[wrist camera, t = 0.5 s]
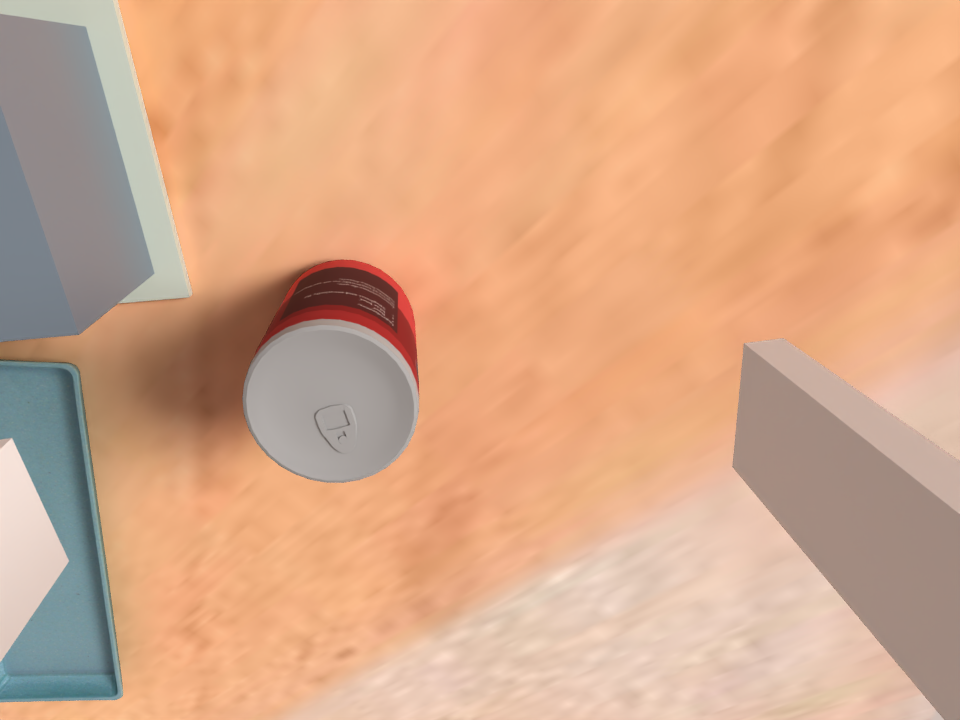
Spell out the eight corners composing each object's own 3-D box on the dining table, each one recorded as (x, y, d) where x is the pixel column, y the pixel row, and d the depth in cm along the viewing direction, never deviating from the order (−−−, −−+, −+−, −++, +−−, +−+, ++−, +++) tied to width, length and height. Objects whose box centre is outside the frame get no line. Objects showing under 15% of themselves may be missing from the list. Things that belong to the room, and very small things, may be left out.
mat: (-230, 7, 29) (-243, 5, 28) (114, -11, 30) (109, -12, 29) (-89, 318, 35) (-96, 322, 34) (192, 293, 36) (189, 297, 36)
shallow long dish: (-83, 339, 36) (-115, 357, 34) (93, 349, 37) (73, 367, 35) (1, 673, 46) (-19, 703, 44) (136, 671, 48) (123, 701, 45)
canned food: (333, 401, 40) (310, 510, 30) (254, 296, 37) (199, 379, 27) (439, 343, 39) (452, 436, 29) (369, 231, 36) (356, 291, 26)
